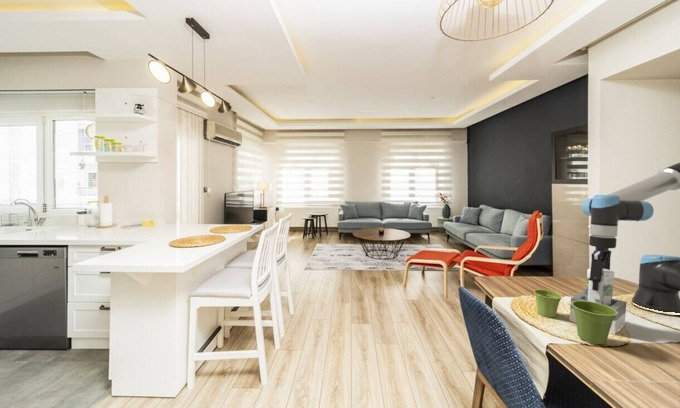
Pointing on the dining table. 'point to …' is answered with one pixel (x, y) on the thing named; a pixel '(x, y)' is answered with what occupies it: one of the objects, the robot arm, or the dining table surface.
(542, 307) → the plant pot
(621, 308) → the socket block
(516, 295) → the dining table surface
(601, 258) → the robot arm
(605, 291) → the syrup box
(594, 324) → the plant pot
